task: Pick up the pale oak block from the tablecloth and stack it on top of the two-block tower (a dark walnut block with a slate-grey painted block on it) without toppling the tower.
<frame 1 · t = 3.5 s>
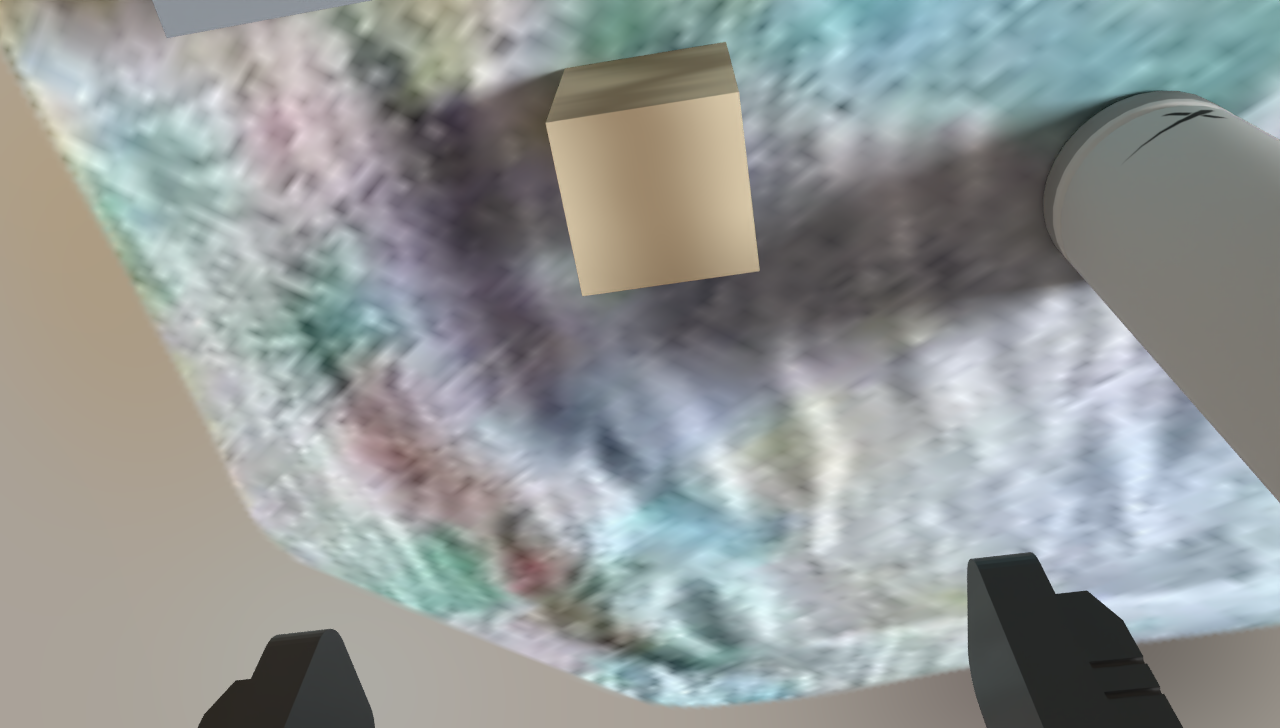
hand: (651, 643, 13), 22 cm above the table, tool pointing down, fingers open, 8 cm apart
oak block: (657, 134, 32), on the table
travel mug: (1132, 181, 33), on the table
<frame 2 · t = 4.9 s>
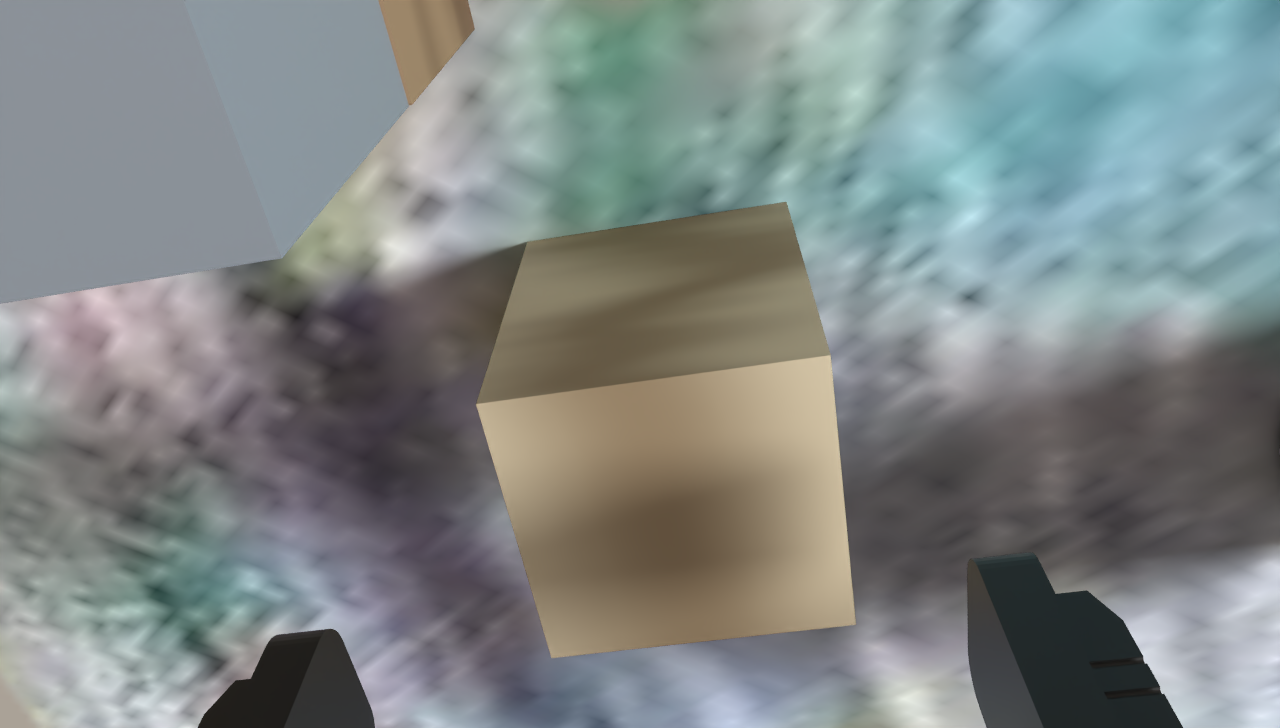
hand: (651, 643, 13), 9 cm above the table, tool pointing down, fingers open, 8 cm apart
oak block: (675, 335, 20), on the table
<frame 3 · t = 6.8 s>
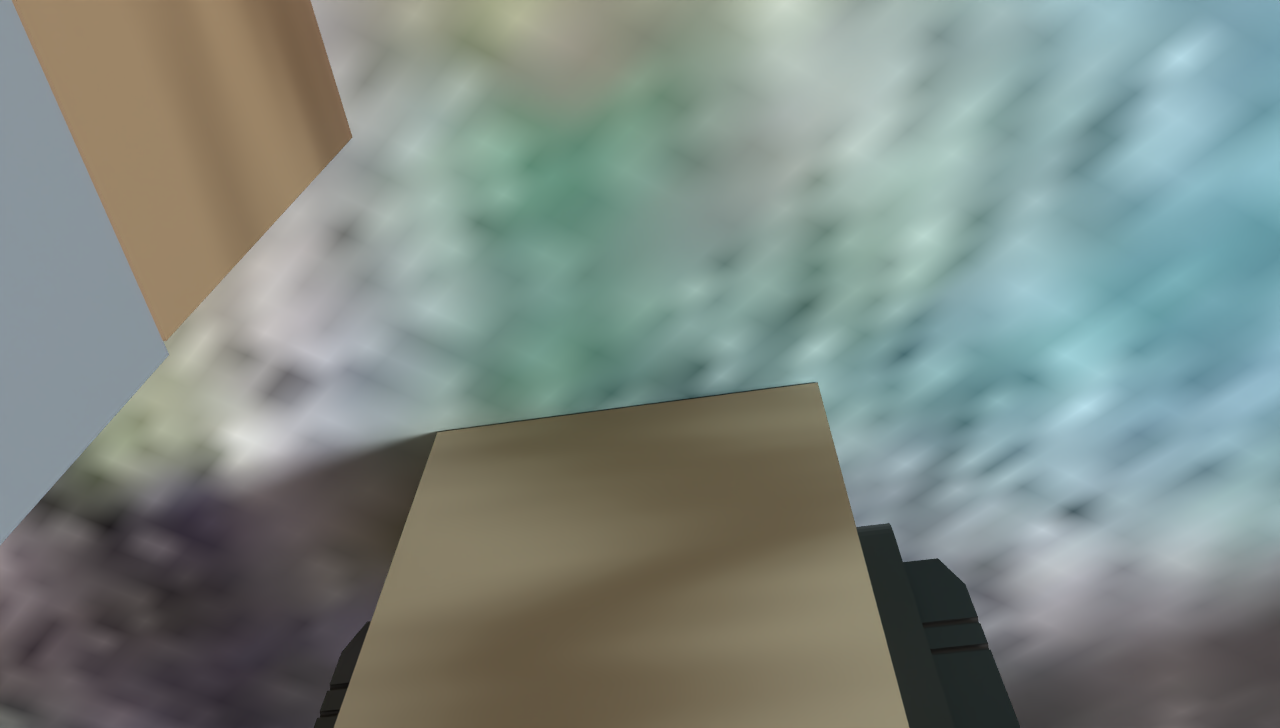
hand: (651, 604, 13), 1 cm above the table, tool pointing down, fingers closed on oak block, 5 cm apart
oak block: (654, 556, 14), on the table, touching gripper
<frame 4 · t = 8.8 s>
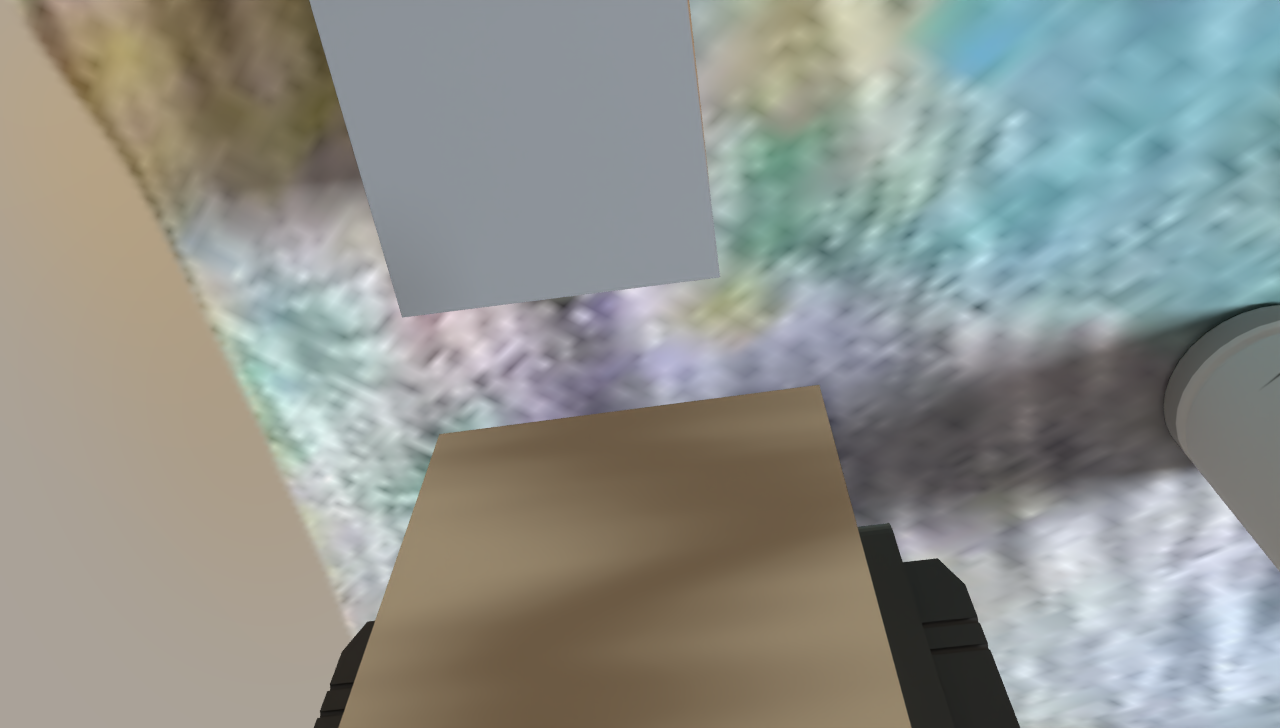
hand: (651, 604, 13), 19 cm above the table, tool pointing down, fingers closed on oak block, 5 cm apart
oak block: (655, 557, 14), point 18 cm above the table, touching gripper
tower top: (550, 79, 24), point 5 cm above the table, touching tower base
travel mug: (1250, 379, 34), on the table
when the fingers open (12 cm above the table, at t = 11.3 s): oak block stays where it is, resting on tower top.
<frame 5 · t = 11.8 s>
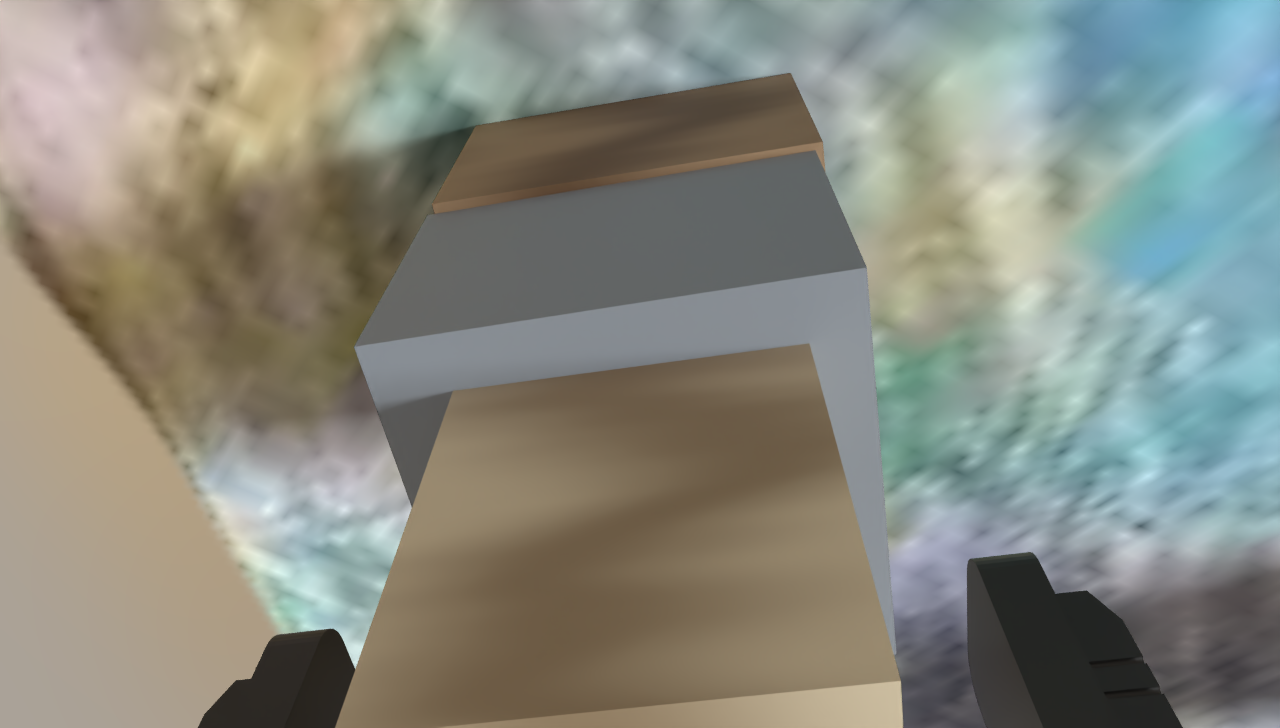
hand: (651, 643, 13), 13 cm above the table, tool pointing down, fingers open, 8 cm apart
tower base: (656, 245, 24), on the table, touching tower top
oak block: (655, 510, 15), point 10 cm above the table, touching tower top
tower top: (651, 353, 20), point 5 cm above the table, touching oak block, tower base
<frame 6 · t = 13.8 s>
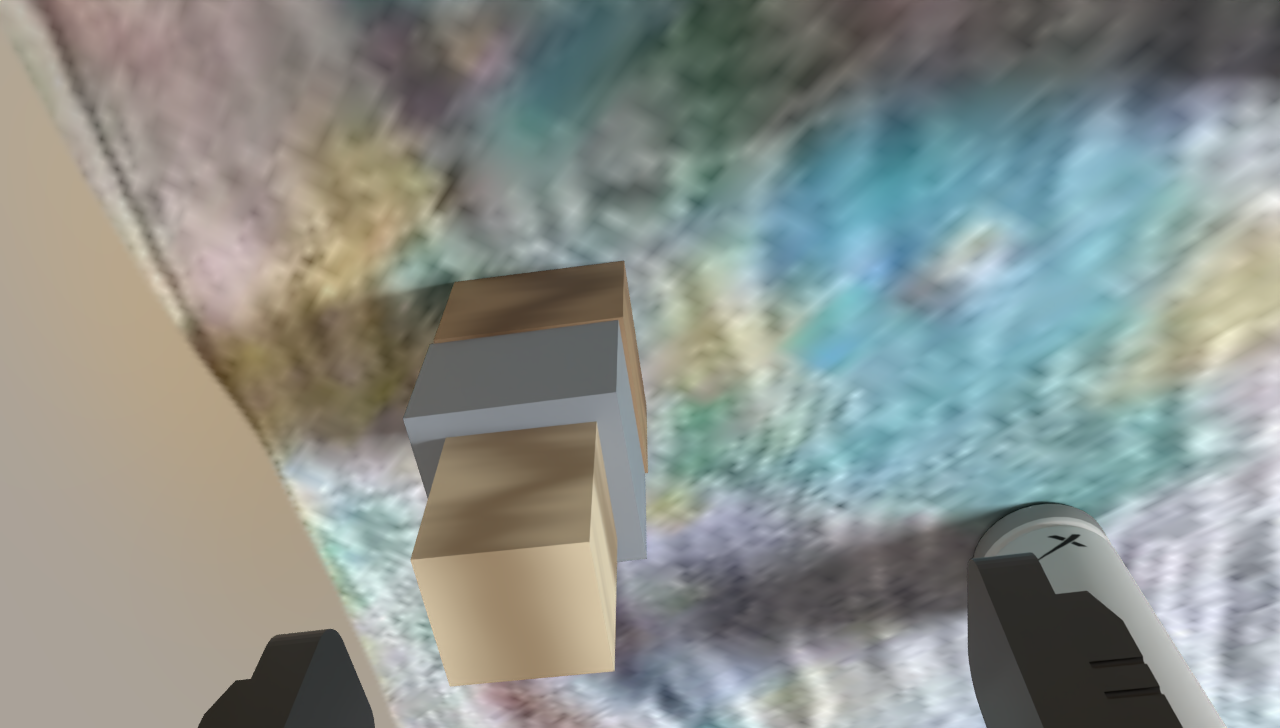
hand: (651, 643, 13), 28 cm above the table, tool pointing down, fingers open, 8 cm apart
tower base: (553, 345, 43), on the table, touching tower top
oak block: (534, 490, 34), point 10 cm above the table, touching tower top
tower top: (541, 412, 39), point 5 cm above the table, touching oak block, tower base
travel mug: (1032, 548, 49), on the table
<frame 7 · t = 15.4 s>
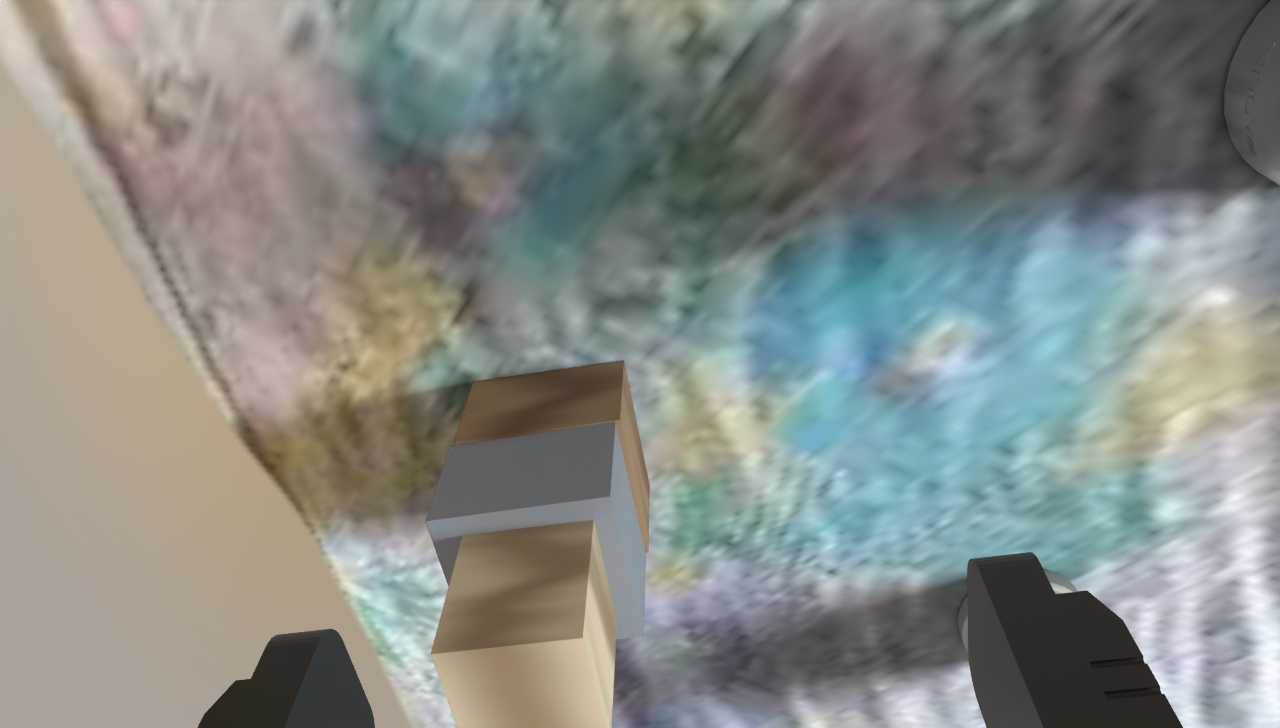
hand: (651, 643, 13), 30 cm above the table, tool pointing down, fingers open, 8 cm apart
tower base: (563, 434, 47), on the table, touching tower top
oak block: (541, 578, 39), point 10 cm above the table, touching tower top
tower top: (550, 501, 43), point 5 cm above the table, touching oak block, tower base
travel mug: (1013, 607, 52), on the table
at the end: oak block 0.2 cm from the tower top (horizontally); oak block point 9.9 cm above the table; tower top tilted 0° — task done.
